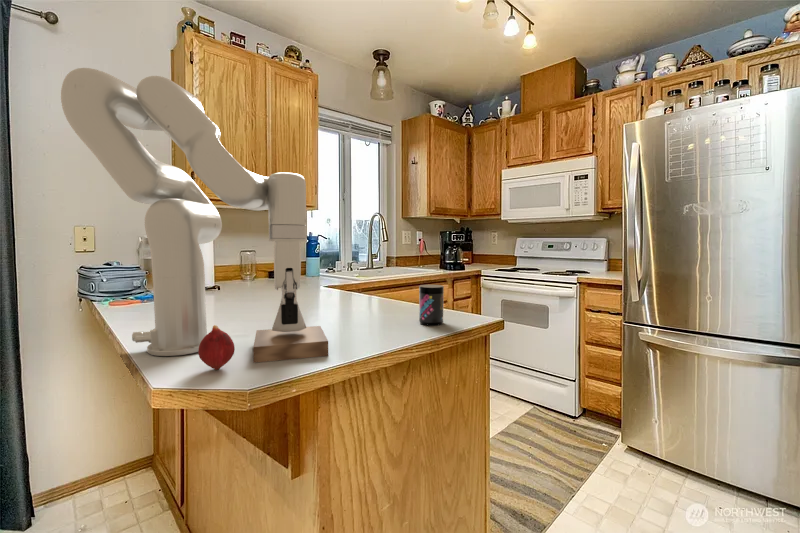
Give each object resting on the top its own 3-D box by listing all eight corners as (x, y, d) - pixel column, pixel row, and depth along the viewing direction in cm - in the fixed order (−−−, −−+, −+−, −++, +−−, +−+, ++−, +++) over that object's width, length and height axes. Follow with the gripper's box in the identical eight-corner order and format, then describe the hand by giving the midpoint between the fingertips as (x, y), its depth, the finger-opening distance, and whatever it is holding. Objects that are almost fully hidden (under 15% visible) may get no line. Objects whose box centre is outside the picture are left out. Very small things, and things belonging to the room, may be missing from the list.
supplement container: (418, 320, 110) (418, 284, 109) (441, 320, 110) (442, 284, 109) (419, 326, 103) (419, 287, 103) (444, 326, 103) (445, 287, 103)
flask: (301, 333, 78) (301, 284, 77) (266, 333, 78) (265, 283, 77) (310, 325, 85) (310, 280, 84) (278, 325, 85) (277, 280, 84)
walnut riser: (253, 362, 73) (253, 347, 73) (256, 343, 86) (256, 330, 86) (328, 355, 77) (328, 340, 77) (320, 338, 91) (320, 325, 90)
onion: (242, 366, 71) (240, 323, 70) (217, 376, 66) (216, 330, 65) (217, 362, 73) (215, 321, 72) (191, 372, 67) (189, 327, 67)
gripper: (269, 234, 87) (270, 314, 88) (268, 233, 71) (270, 331, 72) (303, 234, 89) (304, 312, 91) (309, 234, 73) (311, 329, 74)
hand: (289, 320), depth 81 cm, fingers closed on flask, 4 cm apart
